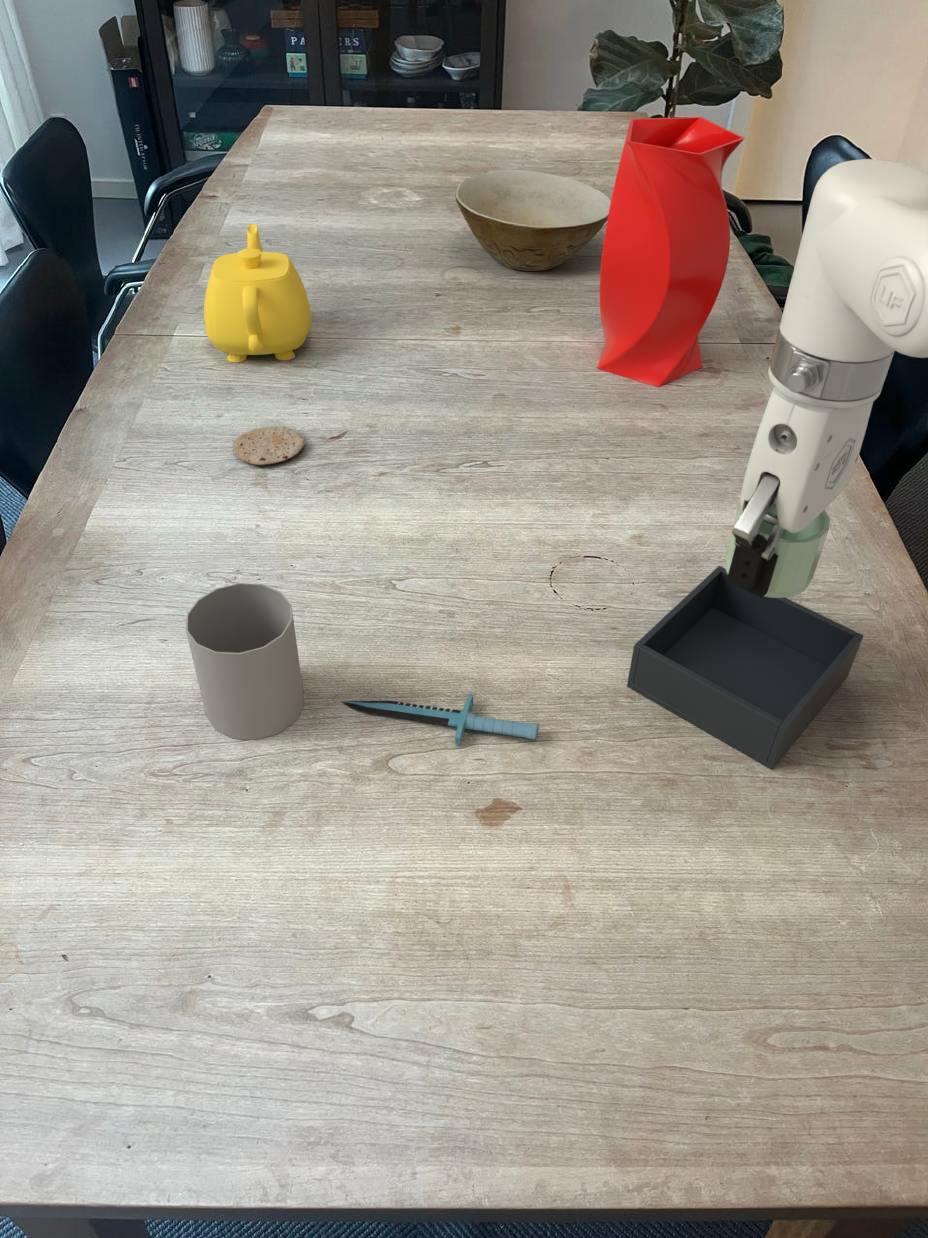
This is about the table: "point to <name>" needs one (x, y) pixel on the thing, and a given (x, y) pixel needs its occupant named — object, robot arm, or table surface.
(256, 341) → the teapot
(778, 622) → the dish tub
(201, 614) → the cup
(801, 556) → the green tumbler
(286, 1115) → the table surface
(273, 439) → the flatbread
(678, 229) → the vase
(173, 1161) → the table surface
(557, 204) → the bowl
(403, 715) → the knife
